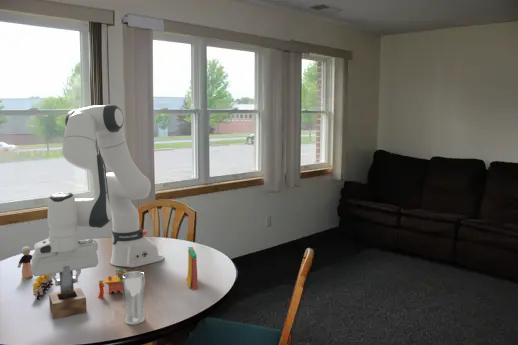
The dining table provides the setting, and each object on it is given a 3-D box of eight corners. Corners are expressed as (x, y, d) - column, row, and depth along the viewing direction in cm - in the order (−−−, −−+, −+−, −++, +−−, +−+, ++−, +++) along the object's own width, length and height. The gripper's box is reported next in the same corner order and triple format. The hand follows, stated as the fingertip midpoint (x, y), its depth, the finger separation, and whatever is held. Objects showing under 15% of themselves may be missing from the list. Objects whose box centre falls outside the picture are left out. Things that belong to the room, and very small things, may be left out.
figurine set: (30, 301, 162) (28, 283, 162) (45, 284, 179) (44, 267, 178) (40, 301, 163) (39, 282, 162) (54, 283, 179) (53, 267, 178)
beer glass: (125, 316, 151) (124, 271, 149) (147, 315, 151) (146, 270, 149) (121, 326, 144) (119, 278, 142) (144, 325, 144) (142, 278, 142)
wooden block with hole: (81, 301, 162) (80, 287, 161) (86, 312, 154) (85, 297, 153) (49, 307, 157) (48, 293, 156) (53, 319, 149) (52, 303, 148)
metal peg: (73, 302, 158) (71, 262, 156) (75, 306, 154) (73, 265, 153) (60, 304, 156) (58, 264, 154) (62, 309, 152) (59, 267, 151)
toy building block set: (198, 289, 173) (197, 252, 171) (97, 300, 163) (95, 261, 162) (193, 278, 185) (192, 243, 183) (99, 287, 175) (97, 250, 173)
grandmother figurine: (25, 281, 181) (23, 249, 179) (17, 280, 182) (14, 248, 180) (38, 274, 188) (36, 243, 187) (30, 273, 189) (28, 243, 188)
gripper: (95, 236, 160) (97, 275, 162) (29, 245, 150) (31, 286, 152) (99, 240, 155) (101, 280, 157) (30, 250, 145) (33, 293, 146)
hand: (66, 283), depth 154 cm, fingers closed on metal peg, 4 cm apart
